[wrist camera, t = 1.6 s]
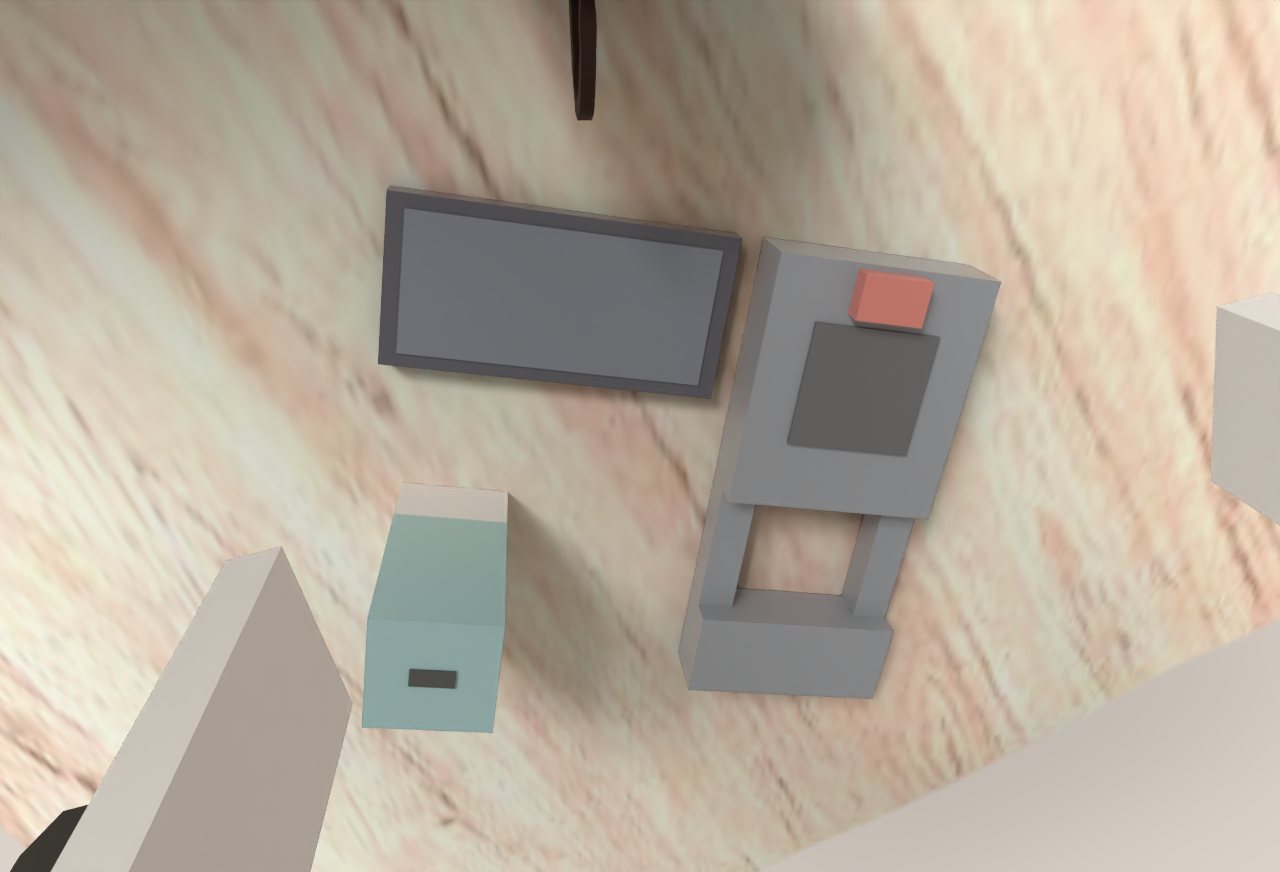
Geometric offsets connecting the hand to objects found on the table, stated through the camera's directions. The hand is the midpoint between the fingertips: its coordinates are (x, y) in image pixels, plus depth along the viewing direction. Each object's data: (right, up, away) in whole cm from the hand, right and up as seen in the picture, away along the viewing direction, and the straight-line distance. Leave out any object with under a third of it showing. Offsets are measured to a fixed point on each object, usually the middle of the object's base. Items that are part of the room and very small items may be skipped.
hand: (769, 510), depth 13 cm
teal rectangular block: (-9, -3, +23) cm, 25 cm away
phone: (-5, +6, +20) cm, 22 cm away
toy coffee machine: (+5, 0, +24) cm, 25 cm away
